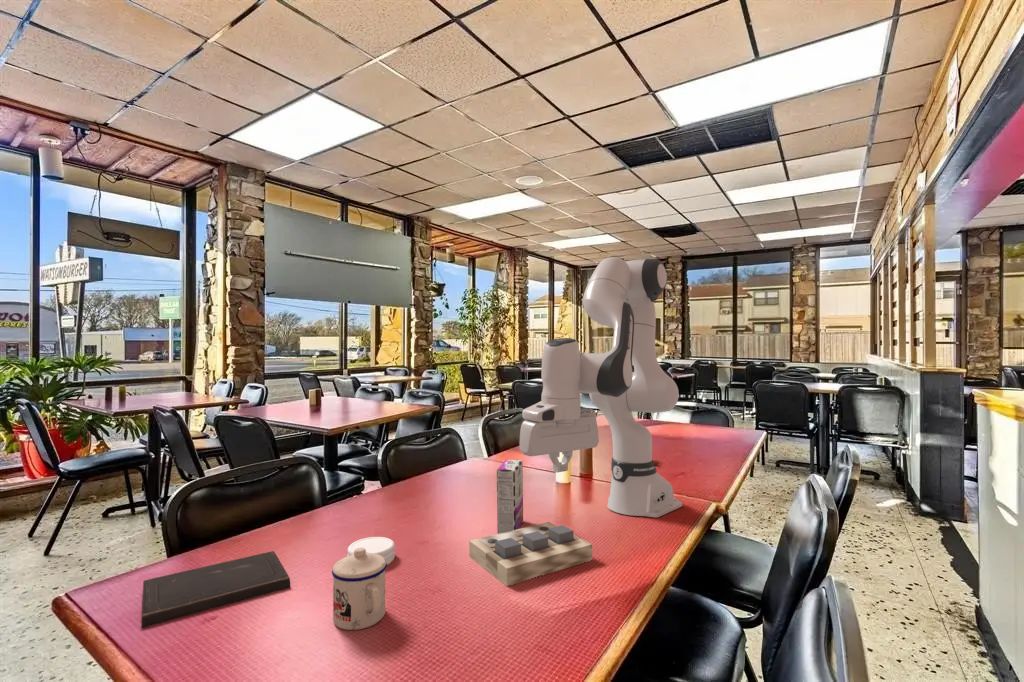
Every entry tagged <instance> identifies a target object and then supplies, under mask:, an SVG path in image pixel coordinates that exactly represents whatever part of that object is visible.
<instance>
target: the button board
mask: <svg viewBox="0 0 1024 682" xmlns="http://www.w3.org/2000/svg"><path fill="white" fill-rule="evenodd" d="M553 527H557V525H555V524H554V523H552V522H550V521H547V522H544V523H538V524H535V525H531V526H530V525H529V526H526V527H525V526H524V527H522V528H519V529H517V530H513V531H508V532H504V533H500V534H498V533H496V534H491V535H488V536H483V537H481V538H480V537H479V538H476V539H471V540H469V542H468V544H469V545H468V547H469V549H468V550H469V551H468V553H469V554H468V555H469V556H470V557H469V558H471V559H472V560H473V561H474V560H475V561H474V562H475V563H477V564H478V566H480V567H482V568H483V569H484V570H486V572H488V573H489V574H490V575H492V576H493V577H495V579H497V580H498V581H499V582H500V583H502V585H504V586H505V587H509V585H510V586H512V585H515V584H519V583H518V582H520V583H523V582H526V581H529V580H531V579H530V578H533V579H535V578H534V577H536V578H538V577H537V576H539V577H541V576H540V575H542V576H544V575H543V574H546V575H549V574H552V573H556V572H558V570H559V571H561V570H565V569H568V568H571V566H572V567H575V566H579V565H582V564H585V563H588V562H591V560H592V561H593V544H592V543H591V542H589V541H587V540H585V539H583V538H581V537H579V536H577V535H575V534H573V541H571V542H568V543H564V544H560V545H558V544H556V543H555V542H553V541H551V540H549V539H548V548H546V549H542V550H538V551H535V552H532V551H530V550H529V549H527V548H525V547H524V546H523V535H524V534H528V533H532V532H536V531H538V532H540V533H542V534H544V535H545V536H547V537H548V529H549V528H553ZM508 538H512V539H514V540H516V541H517V542H519V543H520V544H521V555H520V556H516V557H512V558H509V559H505V560H504V559H503V558H501V557H500V556H498V555H497V554H496V553H495V541H499V540H504V539H508ZM584 562H585V563H584ZM581 563H582V564H581ZM555 571H556V572H555ZM551 572H552V573H551ZM548 573H549V574H548ZM528 579H529V580H528ZM525 580H526V581H525ZM522 581H523V582H522Z"/></svg>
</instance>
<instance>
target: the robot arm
mask: <svg viewBox="0 0 1024 682" xmlns="http://www.w3.org/2000/svg"><path fill="white" fill-rule="evenodd" d="M667 278H668V275H667V270H666V267H665V265H664V262H662V261H661V260H660V259H657V258H646V259H634V260H632V259H631V260H623V259H622V258H619V257H615V256H610V257H606V258H604V259H602V260H601V261H600V262H599V263H598V264H597V265H596V268H595V269H594V270H593V273H592V275H590V278H589V280H588V282H587V285H586V288H585V290H584V293H583V296H582V297H583V298H582V307H583V310H584V312H585V313H586V316H588V317H589V318H590V319H591V320H592V321H594V322H595V323H597V324H599V325H601V326H606V327H608V328H611V329H613V336H612V337H613V338H612V348H611V349H610V350H608V351H607V352H602V353H601V352H599V353H598V352H597V353H596V352H594V353H593V352H583V351H582V350H580V348H579V343H578V340H577V339H575V338H570V337H565V338H564V337H562V338H554V339H550V340H548V341H547V342H545V343H544V345H543V350H542V356H541V371H540V372H541V375H540V376H541V380H542V392H541V395H540V396H541V399H540V401H539V402H537V403H535V404H532V405H530V406H527V407H526V408H524V409H523V410H522V413H521V415H522V419H524V420H523V421H522V423H521V425H520V429H519V431H520V432H519V450H520V452H521V453H522V454H523V455H525V456H528V457H536V456H545V455H548V457H549V458H550V459H549V460H550V461H551V463H552V464H553V466H552V467H553V472H555V473H561V472H569V464H570V461H571V459H572V457H573V451H579V450H587V449H593V448H597V446H598V445H599V442H600V440H599V439H600V437H599V430H598V429H599V427H598V423H597V412H596V411H594V409H592V408H591V407H585V408H581V394H588V395H589V398H590V401H591V402H592V404H593V405H594V406H595V407H596V408H597V409H598V410H600V412H601V413H602V414H603V416H604V417H605V419H606V420H607V423H608V426H609V428H610V432H611V436H612V437H611V439H612V457H611V462H610V463H611V472H612V473H611V474H612V475H611V479H610V490H609V495H608V498H607V500H608V501H607V505H606V506H607V508H608V509H609V510H610V511H612V512H614V513H617V514H621V515H625V516H634V517H635V516H636V517H648V518H659V517H661V516H664V515H666V514H669V513H670V512H673V511H675V510H677V509H679V508H681V507H683V503H682V501H680V500H679V499H678V498H675V496H674V488H673V486H672V484H671V483H670V482H669V481H668V480H667V479H665V478H664V477H663V476H662V475H660V474H659V473H658V472H657V471H658V470H657V468H662V467H663V461H662V460H658V459H655V460H653V436H652V433H651V431H650V430H649V429H648V427H646V426H644V425H643V424H641V423H639V422H637V420H636V419H635V418H634V415H633V413H634V412H635V413H637V412H638V413H650V414H652V413H653V414H656V413H657V414H658V413H665V412H670V411H672V410H673V409H674V408H675V406H676V405H677V404H678V401H679V396H680V395H679V388H678V385H677V383H676V381H675V380H674V379H673V378H672V377H670V376H669V375H668V374H667V373H666V372H665V370H663V369H662V367H661V366H660V364H659V361H658V358H657V354H656V328H657V327H656V326H657V323H656V322H657V319H656V318H657V317H656V307H655V302H656V301H657V300H658V298H659V296H661V295H662V294H663V292H664V290H665V288H666V285H667V281H668V279H667ZM633 369H634V370H633ZM560 453H561V454H562V455H563V456H562V458H561V461H559V458H560Z"/></svg>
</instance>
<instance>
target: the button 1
mask: <svg viewBox="0 0 1024 682" xmlns="http://www.w3.org/2000/svg"><path fill="white" fill-rule="evenodd" d="M495 553H496V554H497V555H498V556H500V557H501V558H503V559H504V560H505V559H509V558H512V557H516V556H520V555H521V544H520V543H519V542H517V541H516V540H514V539H512V538H508V539H504V540H499V541H495Z"/></svg>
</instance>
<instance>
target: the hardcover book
mask: <svg viewBox="0 0 1024 682" xmlns="http://www.w3.org/2000/svg"><path fill="white" fill-rule="evenodd" d="M142 582H143V584H142V606H141V607H142V609H141V628H142V629H143V628H147V627H151V626H155V625H158V624H161V623H165V622H170V621H172V620H176V619H180V618H184V617H189V616H190V615H194V614H199V613H202V612H205V611H208V610H213V609H217V608H220V607H223V606H224V607H225V606H228V605H231V604H234V603H238V602H242V601H246V600H250V599H253V598H257V597H261V596H264V595H268V594H271V593H275V592H279V591H283V590H286V589H290V588H291V578H290V576H289V574H288V572H287V571H286V569H285V567H284V566H283V564H282V562H281V561H280V559H279V557H278V556H277V554H276V552H275V550H272V551H267V552H263V553H258V554H254V555H250V556H246V557H240V558H237V559H233V560H227V561H223V562H219V563H214V564H210V565H205V566H202V567H197V568H193V569H188V570H184V571H180V572H175V573H170V574H167V575H166V574H165V575H162V576H158V577H154V578H148V579H144V580H143V581H142Z"/></svg>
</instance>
